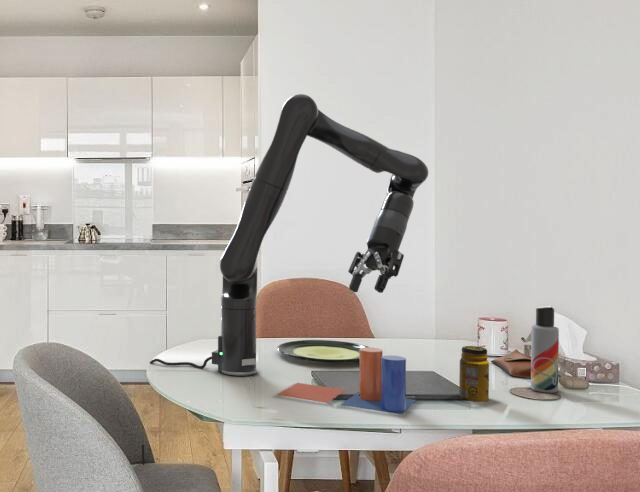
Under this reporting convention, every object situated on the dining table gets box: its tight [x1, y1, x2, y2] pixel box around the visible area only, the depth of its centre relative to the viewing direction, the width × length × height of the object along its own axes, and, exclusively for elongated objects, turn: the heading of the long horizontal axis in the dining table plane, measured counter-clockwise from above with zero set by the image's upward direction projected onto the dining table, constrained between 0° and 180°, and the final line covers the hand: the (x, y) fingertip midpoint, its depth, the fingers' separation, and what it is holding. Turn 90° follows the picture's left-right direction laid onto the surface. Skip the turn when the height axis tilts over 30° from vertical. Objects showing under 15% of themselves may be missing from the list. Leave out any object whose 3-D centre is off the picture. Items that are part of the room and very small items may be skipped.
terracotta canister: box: [358, 346, 384, 401], centre depth 162 cm, size 5×5×11 cm
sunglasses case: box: [490, 349, 531, 379], centre depth 191 cm, size 18×7×7 cm
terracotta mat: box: [276, 382, 346, 404], centre depth 167 cm, size 12×13×1 cm
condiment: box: [458, 345, 490, 403], centre depth 161 cm, size 7×8×12 cm
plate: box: [276, 339, 372, 363], centre depth 208 cm, size 28×28×2 cm
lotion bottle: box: [530, 306, 560, 394], centre depth 171 cm, size 6×6×20 cm
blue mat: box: [340, 391, 417, 415], centre depth 158 cm, size 13×13×1 cm
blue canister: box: [381, 354, 407, 413], centre depth 153 cm, size 5×5×11 cm
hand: (365, 291), depth 170 cm, fingers open, 8 cm apart
